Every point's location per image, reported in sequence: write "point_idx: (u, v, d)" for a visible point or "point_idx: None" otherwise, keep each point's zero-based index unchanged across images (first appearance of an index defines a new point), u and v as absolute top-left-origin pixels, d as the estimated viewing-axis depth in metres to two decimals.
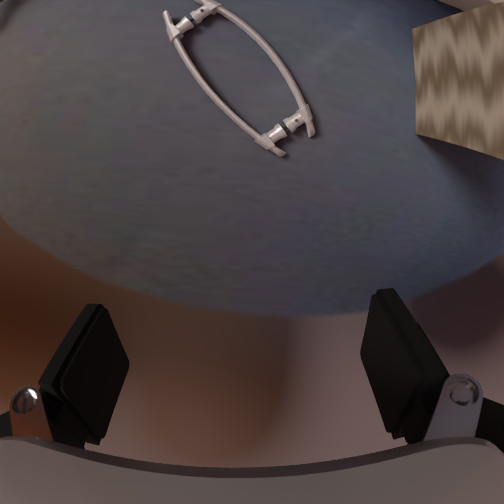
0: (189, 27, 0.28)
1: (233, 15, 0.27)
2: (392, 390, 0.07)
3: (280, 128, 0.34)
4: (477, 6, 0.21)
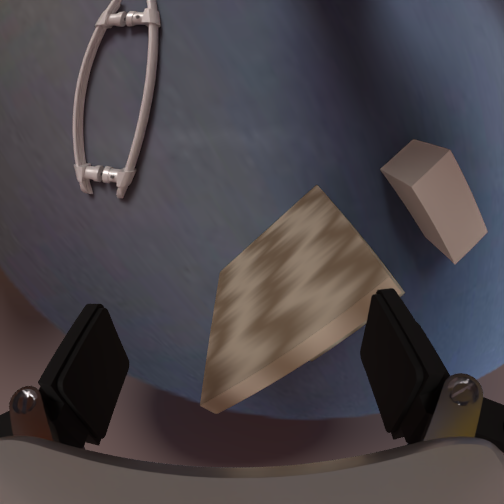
0: (116, 24, 0.23)
1: (152, 41, 0.24)
2: (392, 390, 0.07)
3: (96, 172, 0.30)
4: (424, 225, 0.31)
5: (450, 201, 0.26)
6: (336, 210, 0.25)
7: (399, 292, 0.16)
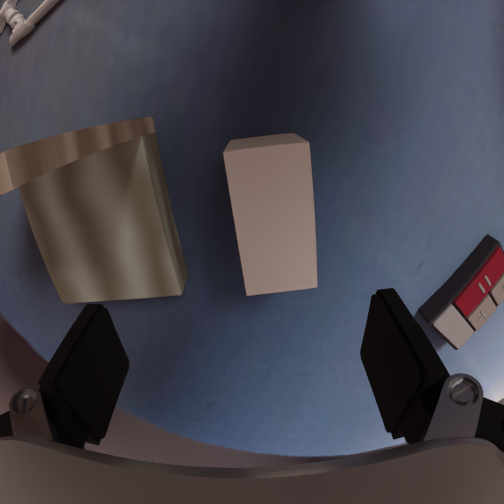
0: None
1: None
2: (392, 390, 0.07)
3: (11, 14, 0.16)
4: None
5: (273, 207, 0.22)
6: None
7: (11, 187, 0.09)
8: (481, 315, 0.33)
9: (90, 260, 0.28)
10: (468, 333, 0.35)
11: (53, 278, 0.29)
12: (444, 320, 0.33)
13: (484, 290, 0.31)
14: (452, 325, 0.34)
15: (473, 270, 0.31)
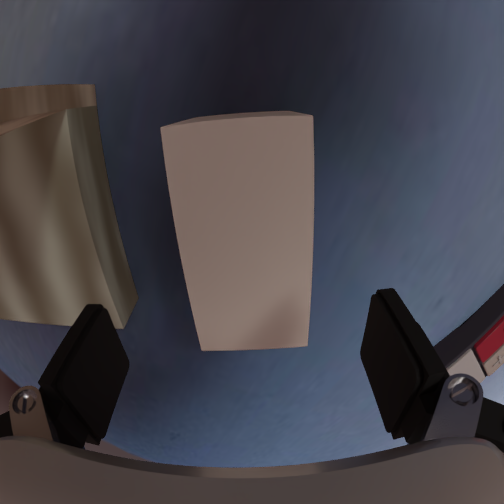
0: None
1: None
2: (392, 390, 0.07)
3: None
4: None
5: (244, 225, 0.13)
6: (8, 88, 0.08)
7: None
8: (497, 360, 0.25)
9: (16, 273, 0.19)
10: (479, 379, 0.27)
11: None
12: (459, 367, 0.25)
13: None
14: (465, 372, 0.26)
15: (502, 309, 0.23)
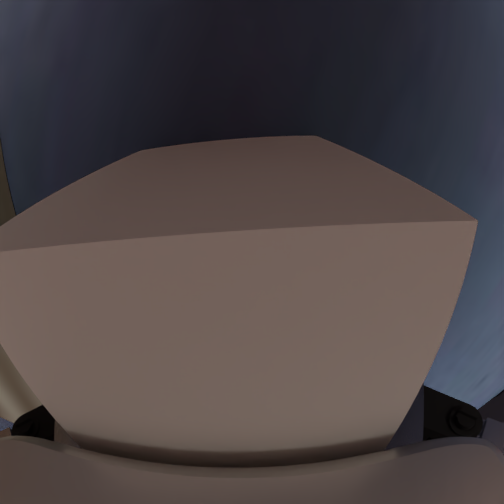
0: None
1: None
2: None
3: None
4: None
5: None
6: None
7: None
8: None
9: None
10: None
11: None
12: None
13: None
14: None
15: None
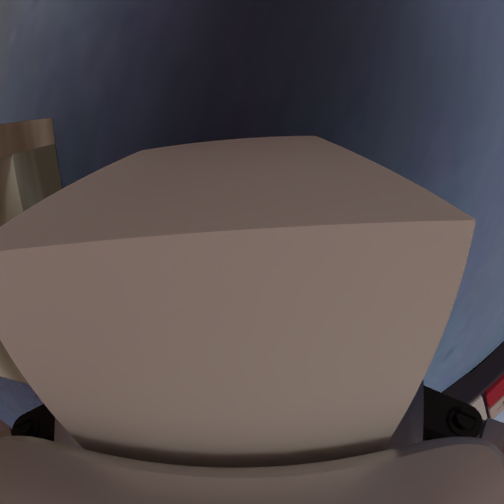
0: None
1: None
2: None
3: None
4: None
5: (224, 467, 0.04)
6: None
7: None
8: (502, 404, 0.22)
9: None
10: None
11: None
12: None
13: None
14: None
15: None
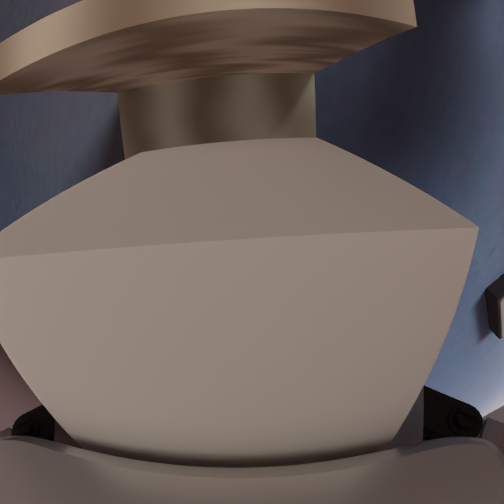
0: None
1: None
2: None
3: None
4: None
5: None
6: None
7: (413, 22, 0.06)
8: None
9: None
10: None
11: None
12: None
13: None
14: None
15: None
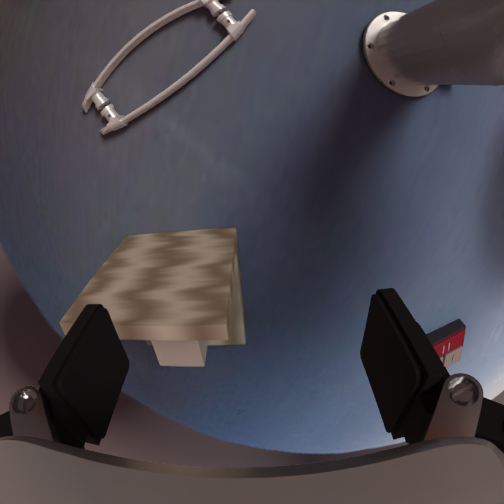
0: (211, 12, 0.27)
1: (218, 48, 0.29)
2: (392, 390, 0.07)
3: (101, 102, 0.31)
4: None
5: None
6: (231, 257, 0.33)
7: (226, 338, 0.24)
8: None
9: None
10: None
11: None
12: None
13: (443, 352, 0.49)
14: None
15: (444, 335, 0.48)
